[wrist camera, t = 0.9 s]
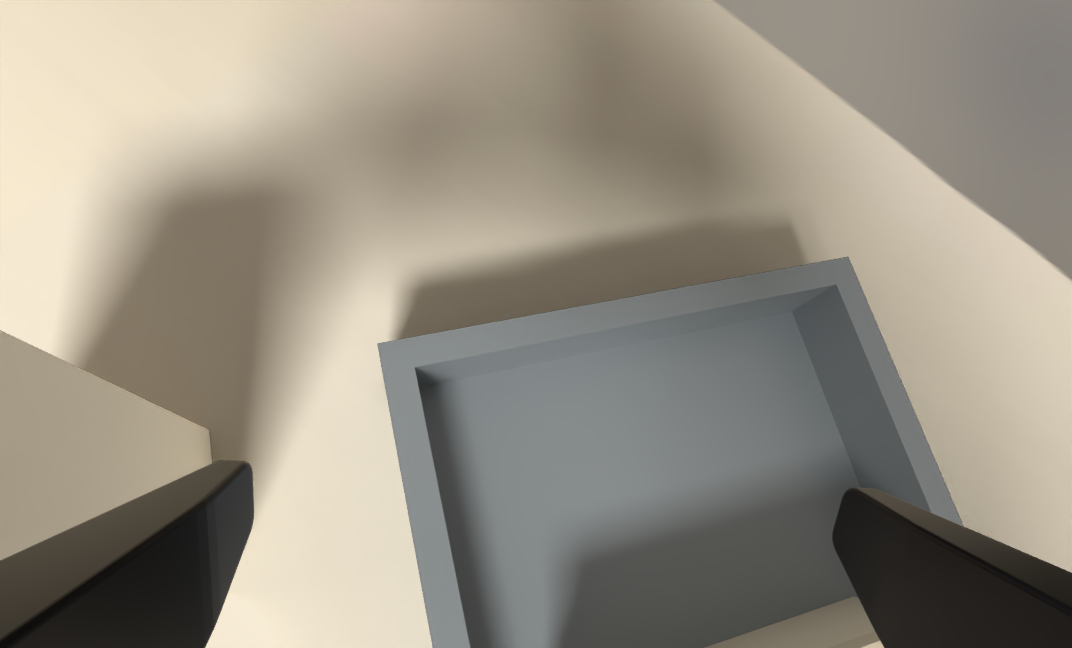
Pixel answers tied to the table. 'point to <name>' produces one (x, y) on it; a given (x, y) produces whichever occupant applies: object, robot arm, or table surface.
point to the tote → (650, 461)
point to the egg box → (814, 630)
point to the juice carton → (79, 446)
